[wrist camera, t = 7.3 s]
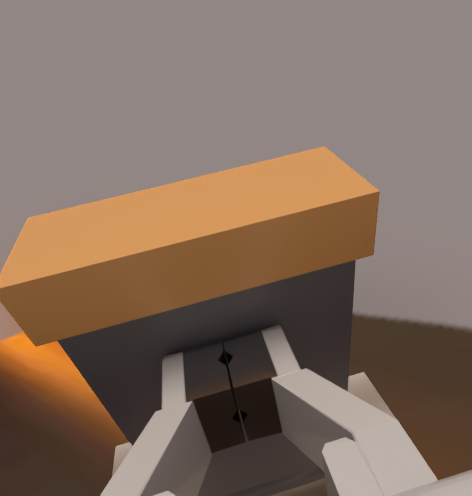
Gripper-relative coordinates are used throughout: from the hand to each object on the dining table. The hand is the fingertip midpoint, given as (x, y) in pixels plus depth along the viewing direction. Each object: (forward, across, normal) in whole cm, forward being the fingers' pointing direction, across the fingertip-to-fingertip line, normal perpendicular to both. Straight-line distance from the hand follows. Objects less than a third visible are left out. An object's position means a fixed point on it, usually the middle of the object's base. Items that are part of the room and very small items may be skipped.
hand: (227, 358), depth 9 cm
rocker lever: (+2, 0, +9) cm, 9 cm away
